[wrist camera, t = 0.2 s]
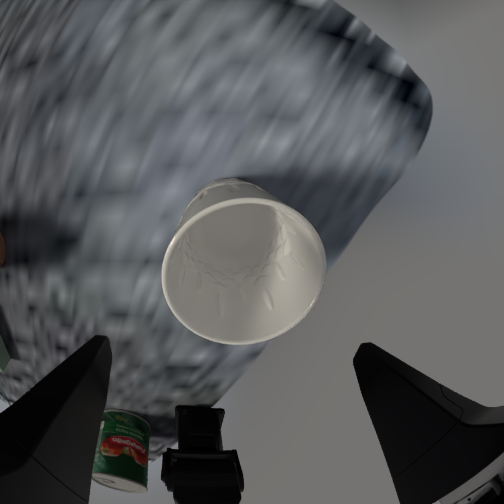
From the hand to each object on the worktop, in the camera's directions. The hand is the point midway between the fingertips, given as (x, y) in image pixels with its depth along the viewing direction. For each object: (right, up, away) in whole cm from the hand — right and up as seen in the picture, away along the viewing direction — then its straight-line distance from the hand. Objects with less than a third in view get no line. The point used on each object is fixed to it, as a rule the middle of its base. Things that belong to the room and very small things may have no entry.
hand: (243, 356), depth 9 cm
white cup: (-2, +6, +13) cm, 15 cm away
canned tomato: (-18, -22, +23) cm, 36 cm away
